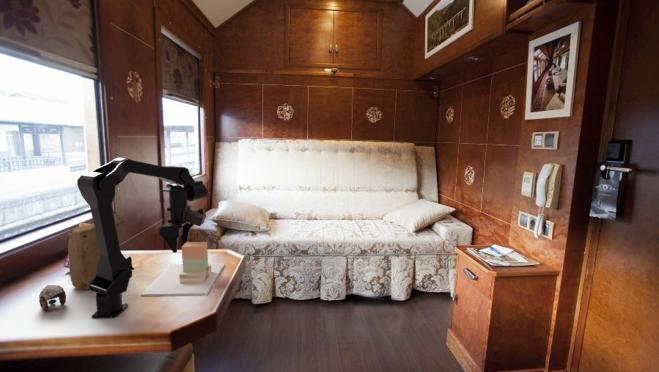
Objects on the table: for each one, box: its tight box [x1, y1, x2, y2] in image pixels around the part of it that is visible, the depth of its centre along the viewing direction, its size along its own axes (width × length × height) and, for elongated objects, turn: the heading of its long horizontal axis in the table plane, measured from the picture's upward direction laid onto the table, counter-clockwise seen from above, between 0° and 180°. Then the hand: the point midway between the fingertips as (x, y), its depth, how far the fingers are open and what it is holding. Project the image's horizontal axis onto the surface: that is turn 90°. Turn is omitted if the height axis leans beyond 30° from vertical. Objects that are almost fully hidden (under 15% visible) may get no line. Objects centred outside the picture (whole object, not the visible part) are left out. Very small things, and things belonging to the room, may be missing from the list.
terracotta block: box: [181, 241, 209, 260], centre depth 111 cm, size 5×7×4 cm
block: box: [67, 223, 100, 291], centre depth 105 cm, size 11×8×20 cm
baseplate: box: [140, 263, 225, 297], centre depth 113 cm, size 24×20×1 cm
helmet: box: [38, 284, 67, 312], centre depth 91 cm, size 6×8×7 cm
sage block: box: [181, 253, 209, 272], centre depth 112 cm, size 5×7×4 cm
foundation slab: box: [179, 263, 212, 283], centre depth 113 cm, size 9×8×3 cm
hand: (180, 247), depth 111 cm, fingers open, 9 cm apart
